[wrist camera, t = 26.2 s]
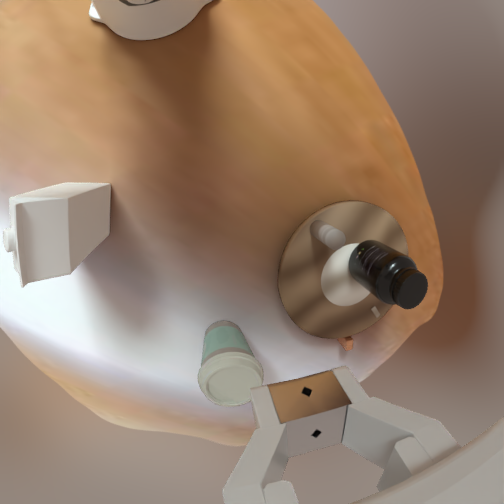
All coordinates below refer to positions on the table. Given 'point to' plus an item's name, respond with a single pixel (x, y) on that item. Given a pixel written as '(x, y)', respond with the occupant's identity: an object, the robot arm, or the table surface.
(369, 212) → the turntable
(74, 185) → the milk carton
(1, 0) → the table surface
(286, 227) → the table surface
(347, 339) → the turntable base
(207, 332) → the coffee cup
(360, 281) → the supplement bottle
